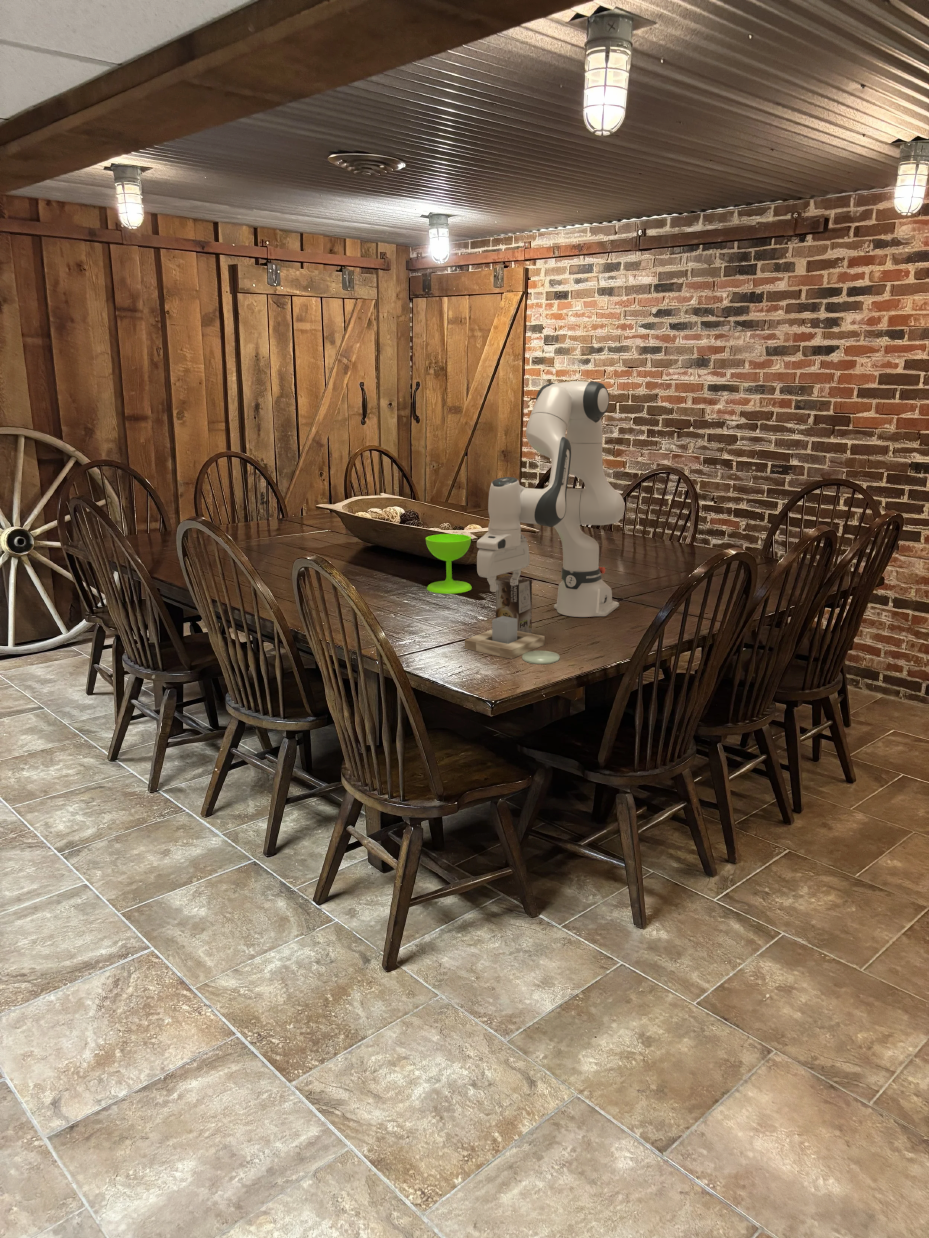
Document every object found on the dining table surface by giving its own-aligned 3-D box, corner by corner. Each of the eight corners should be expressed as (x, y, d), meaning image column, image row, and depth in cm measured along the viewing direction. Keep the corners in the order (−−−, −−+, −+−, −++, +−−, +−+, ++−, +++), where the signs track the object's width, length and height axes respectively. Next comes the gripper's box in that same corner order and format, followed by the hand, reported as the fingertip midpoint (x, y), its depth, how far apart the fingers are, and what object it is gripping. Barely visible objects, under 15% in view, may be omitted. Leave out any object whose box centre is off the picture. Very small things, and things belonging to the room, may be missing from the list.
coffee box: (532, 632, 269) (533, 579, 264) (518, 637, 264) (519, 583, 260) (508, 627, 275) (508, 574, 270) (494, 632, 270) (494, 578, 266)
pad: (535, 650, 252) (535, 648, 252) (566, 657, 246) (566, 654, 246) (514, 659, 245) (514, 657, 244) (546, 666, 239) (546, 664, 238)
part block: (502, 643, 259) (502, 615, 257) (517, 646, 256) (517, 618, 254) (492, 647, 256) (492, 619, 253) (506, 650, 253) (506, 622, 250)
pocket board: (498, 635, 267) (498, 626, 266) (544, 644, 257) (544, 636, 257) (464, 648, 255) (464, 639, 254) (511, 658, 245) (511, 650, 244)
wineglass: (466, 594, 314) (466, 542, 309) (421, 592, 317) (420, 541, 312) (475, 583, 329) (475, 534, 324) (432, 582, 332) (431, 533, 328)
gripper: (516, 532, 257) (516, 580, 261) (472, 542, 242) (472, 593, 245) (535, 534, 254) (534, 583, 257) (492, 544, 238) (491, 596, 242)
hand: (504, 588), depth 251 cm, fingers open, 8 cm apart
